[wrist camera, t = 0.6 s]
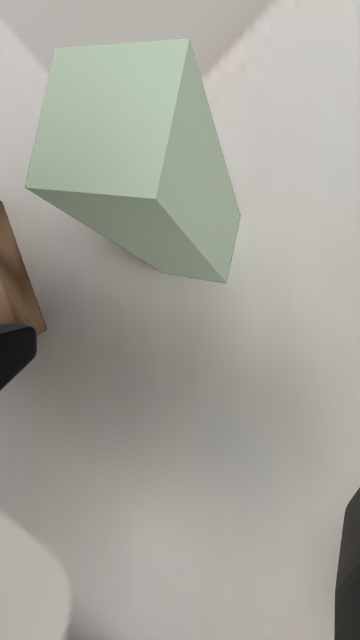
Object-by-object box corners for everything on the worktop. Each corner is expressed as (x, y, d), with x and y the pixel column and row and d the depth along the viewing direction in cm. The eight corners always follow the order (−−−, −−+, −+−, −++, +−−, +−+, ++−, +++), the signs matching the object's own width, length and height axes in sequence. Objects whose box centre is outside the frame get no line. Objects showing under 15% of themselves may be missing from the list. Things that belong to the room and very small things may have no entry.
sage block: (226, 283, 21) (155, 198, 9) (163, 272, 23) (24, 187, 10) (240, 215, 21) (189, 38, 9) (176, 209, 23) (54, 48, 10)
